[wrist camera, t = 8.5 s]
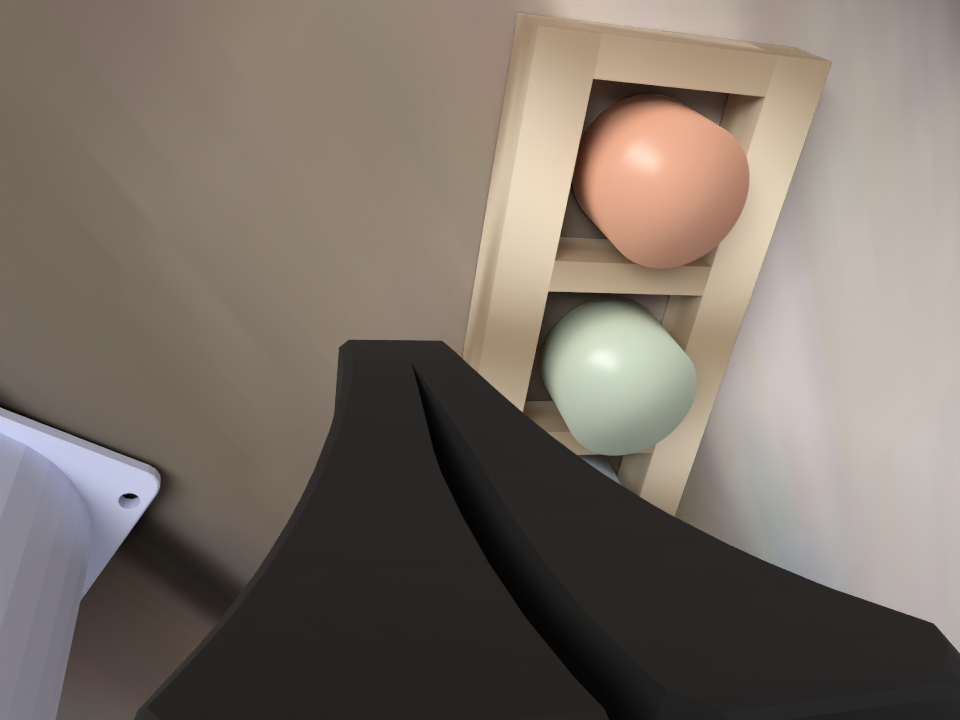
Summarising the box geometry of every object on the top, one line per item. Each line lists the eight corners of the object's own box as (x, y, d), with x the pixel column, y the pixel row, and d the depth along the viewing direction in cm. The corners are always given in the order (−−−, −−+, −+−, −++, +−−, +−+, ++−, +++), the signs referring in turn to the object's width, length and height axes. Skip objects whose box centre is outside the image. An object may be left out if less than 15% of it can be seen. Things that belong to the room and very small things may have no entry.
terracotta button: (682, 233, 21) (723, 270, 20) (559, 227, 20) (589, 265, 19) (721, 100, 20) (769, 127, 18) (588, 86, 19) (625, 113, 17)
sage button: (642, 406, 23) (676, 453, 22) (528, 407, 23) (553, 457, 21) (674, 298, 22) (713, 340, 20) (553, 295, 21) (582, 338, 19)
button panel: (634, 545, 28) (653, 579, 27) (430, 559, 26) (439, 595, 25) (795, 48, 20) (832, 62, 19) (518, 12, 18) (538, 25, 17)
